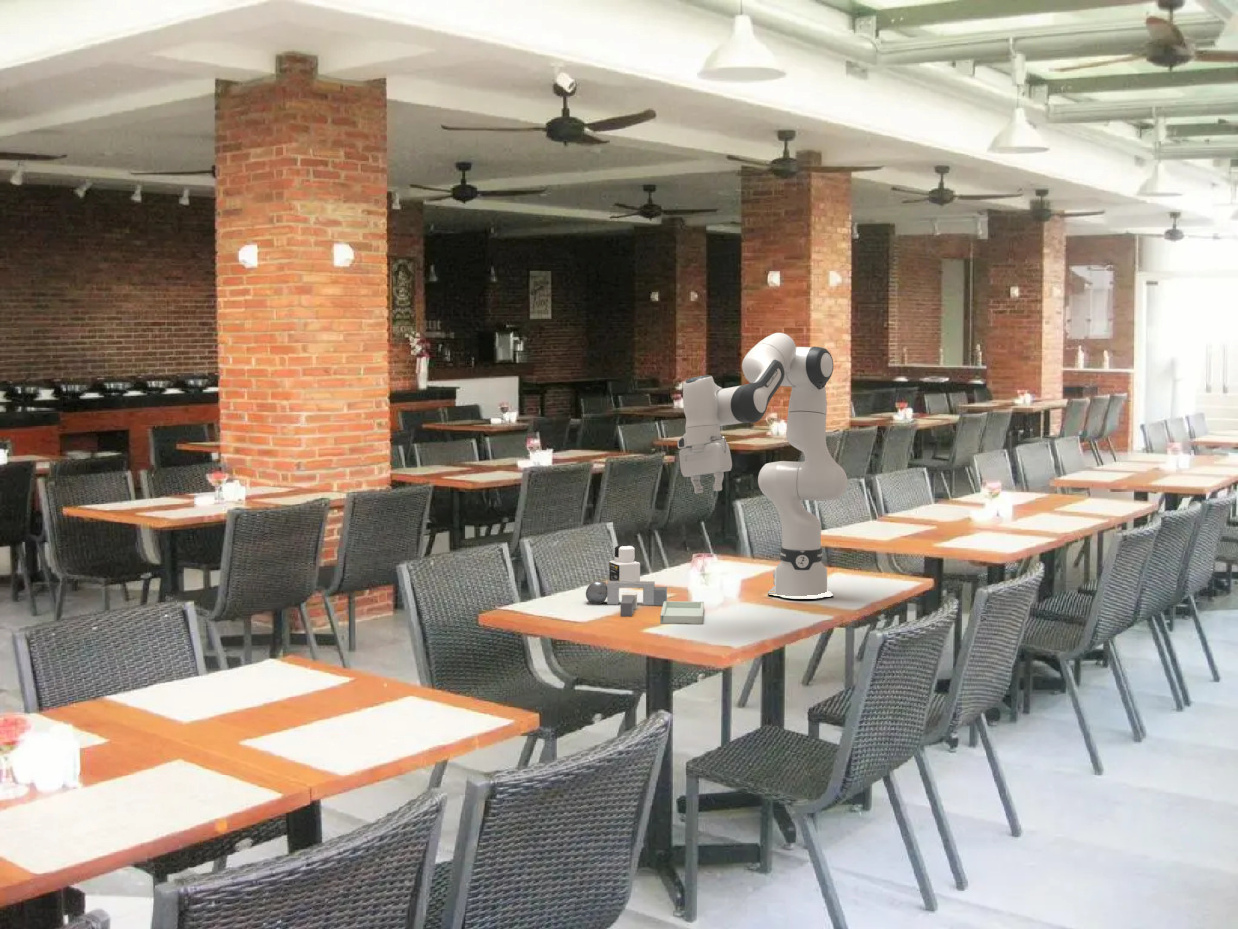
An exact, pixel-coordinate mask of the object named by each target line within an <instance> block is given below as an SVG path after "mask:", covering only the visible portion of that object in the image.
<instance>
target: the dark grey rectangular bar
mask: <svg viewBox="0 0 1238 929" xmlns="http://www.w3.org/2000/svg"><path fill="white" fill-rule="evenodd" d="M637 608H638V592H633V591H632V592H630V591H627V592H626V591H623V592H622V593H621V602H620V617H626V616H629V617H633V615H632V614H634V611H635V610H637Z"/></svg>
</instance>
